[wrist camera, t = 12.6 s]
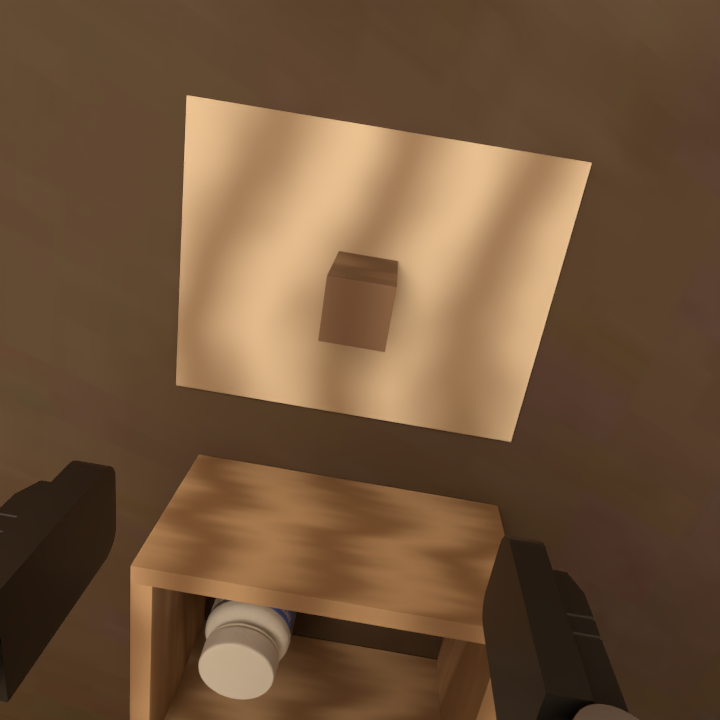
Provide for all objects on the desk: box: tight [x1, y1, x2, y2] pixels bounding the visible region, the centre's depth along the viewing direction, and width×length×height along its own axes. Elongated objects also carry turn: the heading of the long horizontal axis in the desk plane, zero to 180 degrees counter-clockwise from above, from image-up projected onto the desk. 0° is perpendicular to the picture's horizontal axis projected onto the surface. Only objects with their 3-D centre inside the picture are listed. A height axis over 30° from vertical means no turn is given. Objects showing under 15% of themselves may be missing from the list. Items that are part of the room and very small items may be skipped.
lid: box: [176, 95, 592, 442], centre depth 28 cm, size 19×15×6 cm
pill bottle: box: [198, 598, 297, 700], centre depth 34 cm, size 5×5×8 cm
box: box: [130, 454, 505, 720], centre depth 34 cm, size 18×14×10 cm
